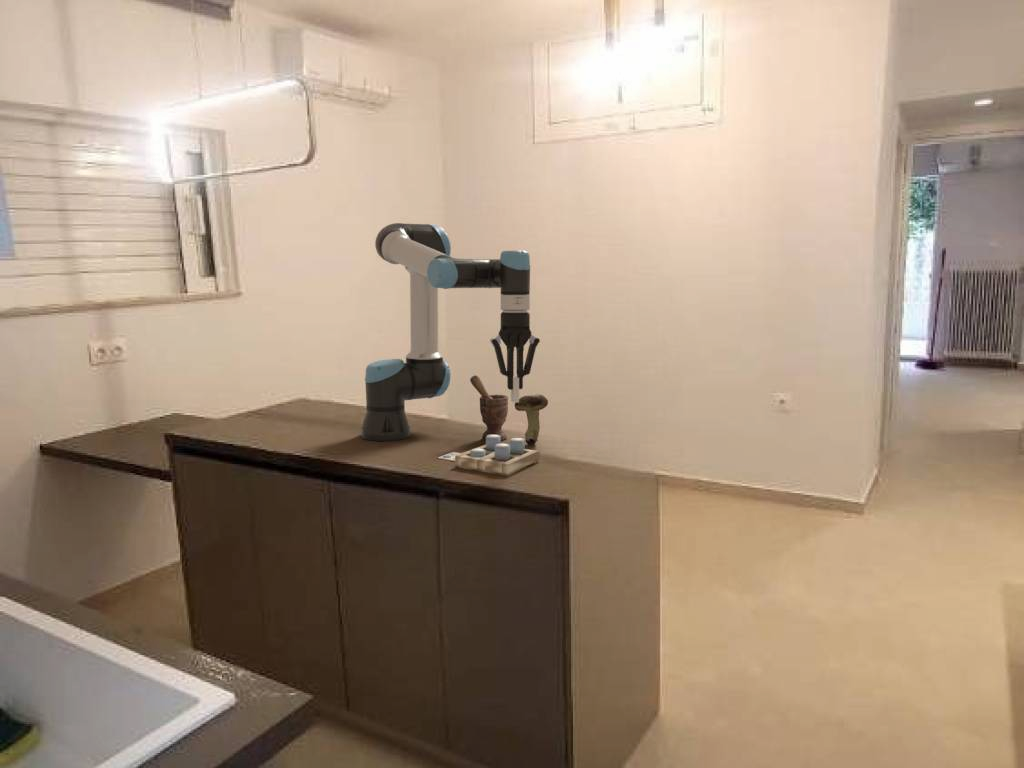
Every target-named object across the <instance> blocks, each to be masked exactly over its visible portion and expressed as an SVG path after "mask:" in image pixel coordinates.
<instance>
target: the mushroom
mask: <svg viewBox="0 0 1024 768" xmlns="http://www.w3.org/2000/svg"><path fill="white" fill-rule="evenodd" d="M548 404H549V400H548V398H547V397H546V396H544V395H542V394H539V393H538V394H528V395H523V396H522V397H519V402H517V403H514V409H515V410H517V411H518V412H525V413H526V418H527V423H528V424H527V429H526V431H525V433H524V438H525V442H526V444H527V445H528V446H535V445H536V443H537V442H539V440H538V438H539V433H540V430H541V428H540V427H541V426H540V411H541V410H543V409H545V408H546V407H547V406H548Z"/></svg>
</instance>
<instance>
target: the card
mask: <svg viewBox="0 0 1024 768" xmlns="http://www.w3.org/2000/svg"><path fill="white" fill-rule="evenodd" d="M462 453H463V452H461V453H460V452H456V451H455V452H454V451H453V452H450V453H449V452H448V453H447V454H444V455H441V456H439V457H437V459H439V460H445V461H450V462H455V456H456V455H459V454H462Z"/></svg>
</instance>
